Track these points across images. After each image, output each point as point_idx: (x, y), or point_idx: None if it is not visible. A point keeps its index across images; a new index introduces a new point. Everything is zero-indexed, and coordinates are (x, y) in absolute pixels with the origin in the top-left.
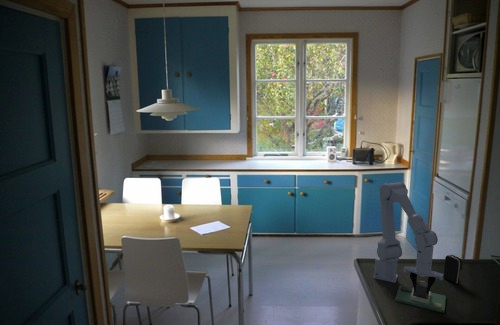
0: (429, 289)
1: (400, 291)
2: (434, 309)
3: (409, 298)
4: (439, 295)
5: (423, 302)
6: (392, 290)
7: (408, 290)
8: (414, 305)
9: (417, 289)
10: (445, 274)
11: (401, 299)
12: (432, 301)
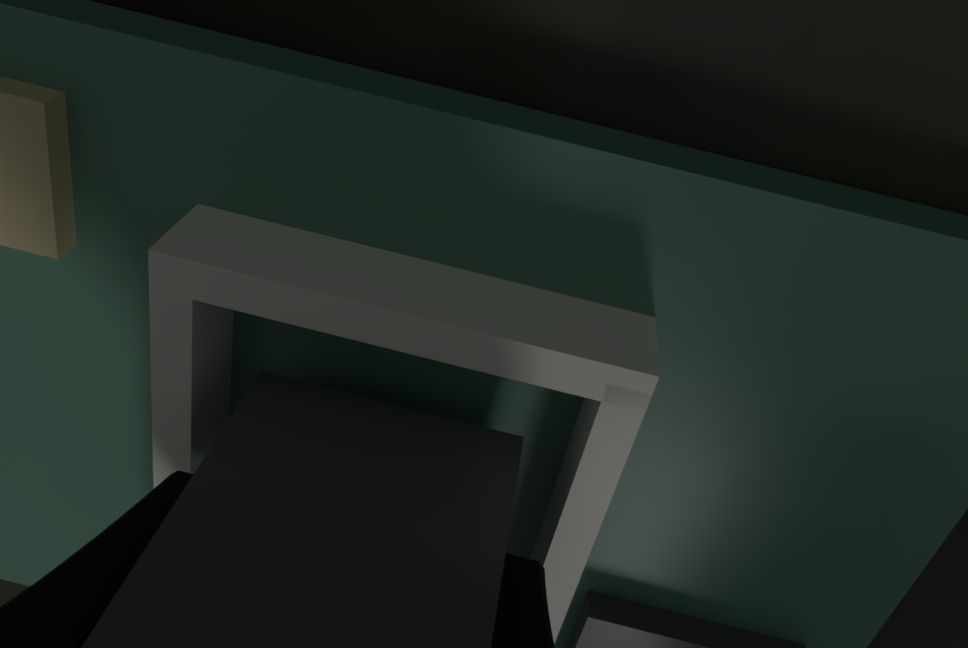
0: (37, 583)
1: (825, 603)
2: (68, 4)
3: (675, 361)
4: (34, 558)
5: (333, 238)
6: (955, 644)
7: (637, 636)
8: (580, 122)
9: (442, 590)
10: None
11: (937, 268)
12: (131, 330)
